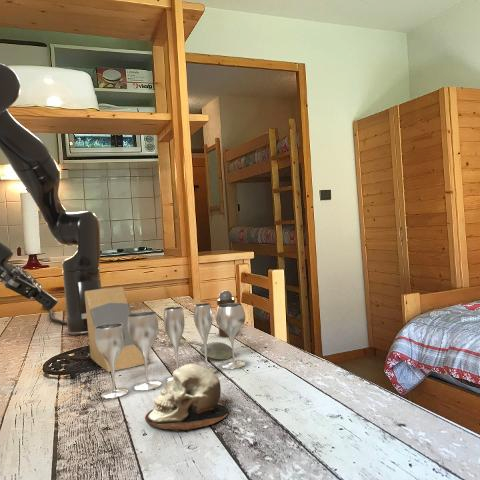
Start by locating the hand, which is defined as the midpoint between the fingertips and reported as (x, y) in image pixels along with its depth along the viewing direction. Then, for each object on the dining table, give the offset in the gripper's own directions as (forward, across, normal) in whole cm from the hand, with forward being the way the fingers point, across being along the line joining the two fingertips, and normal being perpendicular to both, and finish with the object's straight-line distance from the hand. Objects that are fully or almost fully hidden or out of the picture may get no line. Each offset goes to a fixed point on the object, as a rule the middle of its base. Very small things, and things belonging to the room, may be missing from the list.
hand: (54, 305), depth 106 cm
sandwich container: (+18, 0, +2) cm, 18 cm away
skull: (+24, -40, -5) cm, 47 cm away
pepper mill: (+36, +10, -17) cm, 41 cm away
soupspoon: (+29, -2, -10) cm, 31 cm away
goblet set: (+25, -20, -6) cm, 33 cm away
